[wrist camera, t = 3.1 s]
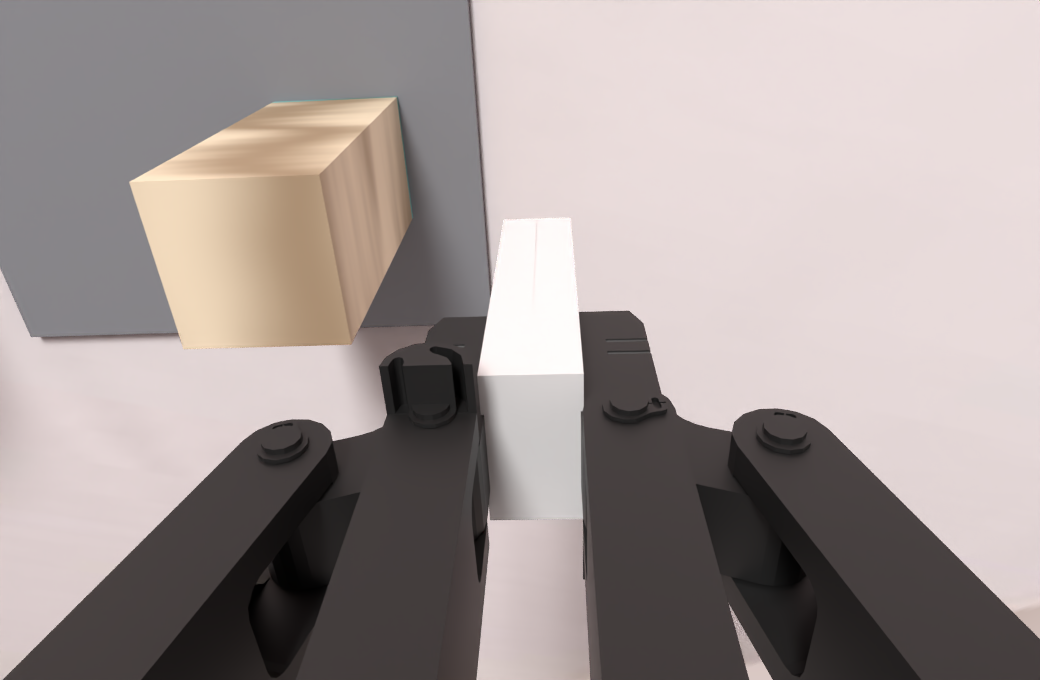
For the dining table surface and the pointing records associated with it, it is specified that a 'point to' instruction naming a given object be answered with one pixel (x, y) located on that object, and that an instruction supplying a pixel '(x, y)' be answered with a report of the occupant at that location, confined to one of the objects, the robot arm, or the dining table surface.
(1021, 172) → the dining table surface
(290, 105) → the beech block
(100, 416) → the dining table surface
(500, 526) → the dining table surface
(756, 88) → the dining table surface
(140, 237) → the mat
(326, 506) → the robot arm
